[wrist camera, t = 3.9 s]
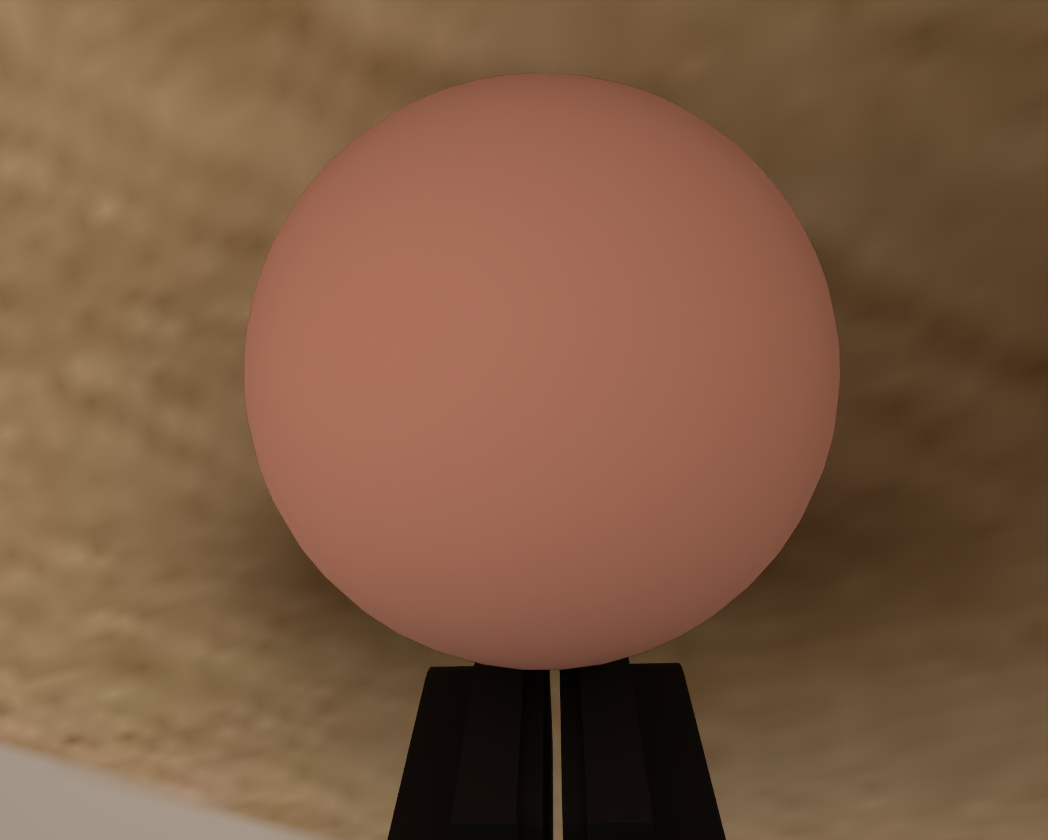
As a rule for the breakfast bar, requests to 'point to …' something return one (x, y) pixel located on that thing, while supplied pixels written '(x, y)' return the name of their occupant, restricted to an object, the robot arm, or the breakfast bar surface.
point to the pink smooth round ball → (542, 371)
